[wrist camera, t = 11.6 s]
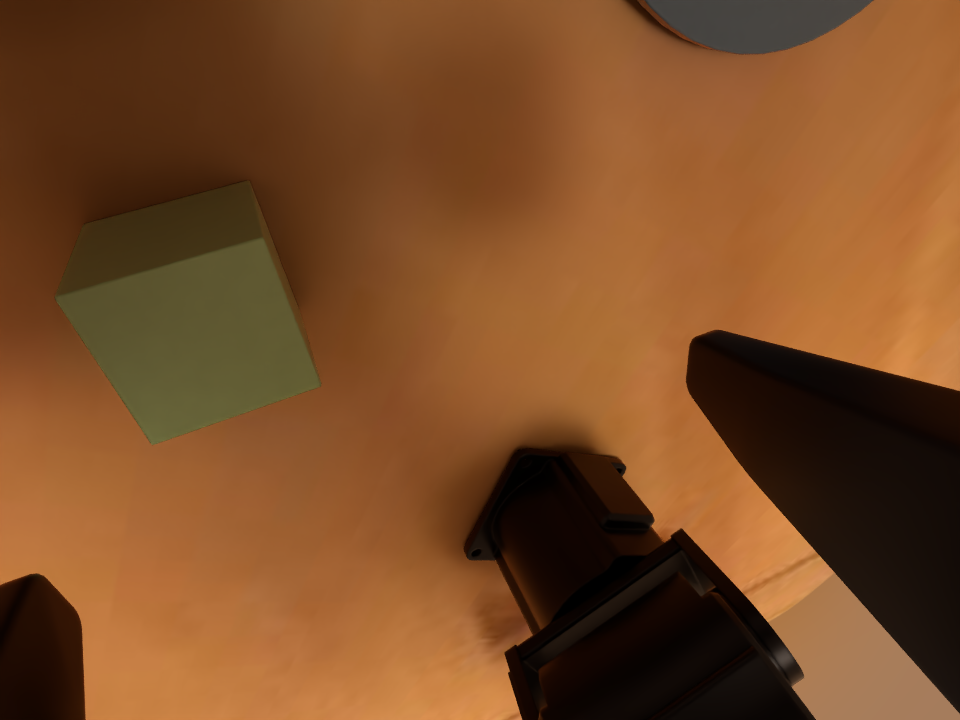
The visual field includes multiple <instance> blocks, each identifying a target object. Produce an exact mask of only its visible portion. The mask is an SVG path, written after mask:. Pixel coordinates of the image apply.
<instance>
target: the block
mask: <svg viewBox="0 0 960 720" xmlns="http://www.w3.org/2000/svg"><path fill="white" fill-rule="evenodd" d="M55 300H56V302H57V303H58V305H59V306H60V308H61V309H62V311H63V312H64V314H65V315H66V317H67V318H68V320H69V321H70V323H71V324H72V326H73V327H74V329H75V330H76V332H77V333H78V335H79V336H80V338H81V339H82V341H83V342H84V344H85V345H86V347H87V348H88V350H89V351H90V353H91V354H92V356H93V357H94V359H95V360H96V362H97V363H98V365H99V366H100V368H101V369H102V371H103V372H104V374H105V375H106V377H107V378H108V380H109V381H110V383H111V384H112V386H113V387H114V389H115V390H116V392H117V393H118V395H119V396H120V398H121V399H122V401H123V402H124V404H125V405H126V407H127V408H128V410H129V411H130V413H131V414H132V416H133V417H134V419H135V420H136V422H137V423H138V425H139V426H140V428H141V429H142V431H143V432H144V434H145V435H146V437H147V438H148V440H149V441H150V443H151V444H152V445H154V444H157V443H160V442H163V441H166V440H169V439H172V438H174V437H177V436H180V435H183V434H186V433H189V432H192V431H195V430H197V429H200V428H203V427H206V426H209V425H212V424H215V423H218V422H220V421H223V420H226V419H229V418H232V417H235V416H238V415H241V414H243V413H246V412H249V411H252V410H255V409H258V408H261V407H264V406H266V405H269V404H272V403H275V402H278V401H281V400H284V399H287V398H290V397H292V396H295V395H298V394H301V393H304V392H307V391H310V390H313V389H315V388H318V387H321V381H320V377H319V374H318V370H317V367H316V364H315V360H314V357H313V354H312V350H311V347H310V344H309V340H308V337H307V334H306V330H305V327H304V323H303V320H302V317H301V313H300V310H299V308H298V305H297V302H296V300H295V297H294V295H293V292H292V289H291V287H290V284H289V281H288V279H287V276H286V274H285V271H284V268H283V266H282V263H281V261H280V258H279V255H278V253H277V250H276V248H275V245H274V242H273V240H272V237H271V235H270V232H269V229H268V227H267V224H266V222H265V219H264V216H263V214H262V211H261V209H260V206H259V203H258V201H257V198H256V196H255V193H254V190H253V188H252V185H251V183H250V181H244V182H240V183H236V184H232V185H229V186H225V187H221V188H217V189H214V190H210V191H206V192H202V193H199V194H195V195H191V196H187V197H183V198H180V199H176V200H172V201H168V202H165V203H161V204H157V205H153V206H150V207H146V208H142V209H138V210H135V211H131V212H127V213H123V214H120V215H116V216H112V217H108V218H105V219H101V220H97V221H93V222H90V223H86V224H84V225H83V226H82V229H81V231H80V234H79V236H78V239H77V241H76V244H75V246H74V249H73V251H72V254H71V256H70V259H69V261H68V264H67V266H66V269H65V272H64V274H63V277H62V279H61V282H60V284H59V287H58V289H57V292H56V294H55Z"/></svg>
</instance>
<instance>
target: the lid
mask: <svg viewBox="0 0 960 720" xmlns="http://www.w3.org/2000/svg"><path fill="white" fill-rule="evenodd" d="M637 1H638V2H639V3H640V5H641V6H642V7H643V8H644V9H645V10H647V11H648V12H649V13H650V14H651V15H652V16H653V17H654V18H655V19H656V20H657V21H658V22H659V23H660V24H661V25H663V26H664V27H666V28H667V29H669V30H670V31H672V32H674V33H675V34H677V35H678V36H680V37H681V38H683V39H685V40H687V41H690V42H692V43H695V44H697V45H700V46H702V47H705V48H708V49H713V50H718V51H723V52H729V53H734V54H766V53H771V52H777V51H782V50H787V49H790V48H793V47H795V46H798V45H801V44H804V43H807V42H809V41H812V40H814V39H816V38H818V37H820V36H822V35H824V34H826V33H827V32H829V31H831V30H833V29H835V28H837V27H838V26H840V25H841V24H843V23H844V22H846V21H847V20H849V19H850V18H852V17H853V16H854V15H856V14H857V13H859V12H860V11H861V10H863V9H864V8H865V7H866V6H867V5H869V4H870V3H871V2H872V1H873V0H637Z"/></svg>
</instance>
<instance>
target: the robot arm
mask: <svg viewBox="0 0 960 720" xmlns="http://www.w3.org/2000/svg"><path fill="white" fill-rule="evenodd" d="M686 383H687V388H688V391H689V393H690V395H691V396H692V398H693V399H694V401H695V402H696V403H697V405H698V406H699V408H700V409H701V410H702V412H703V413H704V415H705V416H706V417H707V419H708V420H709V422H710V423H711V424H712V426H713V427H714V429H715V430H716V431H717V433H718V434H719V436H720V437H721V438H722V440H723V441H724V443H725V444H726V445H727V447H728V448H729V450H730V451H731V452H732V454H733V455H734V457H735V458H736V459H737V461H738V462H739V463H740V465H741V466H742V467H743V468H744V470H745V471H746V472H747V474H748V475H749V476H750V477H751V478H752V479H753V481H754V482H755V483H756V484H757V485H758V486H759V488H760V489H761V490H762V491H763V492H764V493H765V494H766V495H767V497H768V498H769V499H770V500H771V501H772V502H773V503H774V505H775V506H776V507H777V508H778V509H779V510H780V511H781V512H782V514H783V515H784V516H785V517H786V518H787V519H788V520H789V521H790V523H791V524H792V525H793V526H794V527H795V528H796V529H797V530H798V532H799V533H800V534H801V535H802V536H803V537H804V538H805V540H806V541H807V542H808V543H809V544H810V545H811V546H812V547H813V549H814V550H815V551H816V552H817V553H818V554H819V555H820V556H821V558H822V559H823V560H824V561H825V562H826V563H827V564H828V565H829V567H830V568H831V569H832V570H833V571H834V572H835V573H836V575H837V576H838V577H839V578H840V579H841V580H842V581H843V582H844V584H845V585H846V586H847V587H848V588H849V589H850V590H851V591H852V593H853V594H854V595H855V596H856V597H857V598H858V599H859V600H860V601H861V603H862V604H863V605H864V606H865V607H866V608H867V609H868V611H869V612H870V613H871V614H872V615H873V616H874V617H875V619H876V620H877V621H878V622H879V623H880V624H881V625H882V626H883V628H884V629H885V630H886V631H887V632H888V633H889V634H890V635H891V637H892V638H893V639H894V640H895V641H896V642H897V643H898V644H899V646H900V647H901V648H902V649H903V650H904V651H905V652H906V653H907V655H908V656H909V657H910V658H911V659H912V660H913V661H914V663H915V664H916V665H917V666H918V667H919V668H920V669H921V670H922V672H923V673H924V674H925V675H926V676H927V677H928V678H929V679H930V681H931V682H932V683H933V684H934V685H935V686H936V687H937V688H938V690H939V691H940V692H941V693H942V694H943V695H944V696H945V698H946V699H947V700H948V701H949V702H950V703H951V704H952V705H953V707H954V708H955V709H956V710H957V711H958V712H959V713H960V391H957V390H954V389H950V388H946V387H942V386H938V385H934V384H930V383H926V382H922V381H918V380H914V379H910V378H906V377H903V376H899V375H895V374H891V373H887V372H883V371H879V370H875V369H871V368H867V367H863V366H859V365H855V364H852V363H848V362H844V361H840V360H836V359H832V358H828V357H824V356H820V355H816V354H812V353H808V352H804V351H801V350H797V349H793V348H789V347H785V346H781V345H777V344H773V343H769V342H765V341H761V340H757V339H754V338H750V337H746V336H742V335H738V334H734V333H730V332H726V331H722V330H713V331H710V332H707V333H705V334H702V335H699V336H696V337H695V338H693V339H692V341H691V343H690V346H689V355H688V365H687V374H686ZM524 459H525V460H524ZM625 471H626V466H625V465H624V464H623V462H622V461H621V460H620V459H617V458H608V457H605V456H599V455H590V454H581V453H573V452H556V451H547V450H539V449H530V448H523V449H520V450H518V451H517V452H516V453H515V454H514V455H513V457H512V459H511V460H510V462H509V464H508V466H507V468H506V470H505V472H504V473H503V475H502V477H501V479H500V481H499V483H498V485H497V487H496V488H495V490H494V492H493V494H492V496H491V498H490V500H489V501H488V503H487V505H486V507H485V509H484V511H483V513H482V515H481V516H480V518H479V520H478V522H477V524H476V526H475V528H474V529H473V531H472V533H471V535H470V537H469V539H468V541H467V543H466V544H465V546H464V552H465V554H466V557H467V558H468V559H469V560H496V562H497V564H498V566H499V568H500V570H501V572H502V574H503V576H504V578H505V580H506V582H507V584H508V586H509V588H510V590H511V592H512V594H513V596H514V598H515V600H516V602H517V604H518V606H519V608H520V610H521V612H522V614H523V616H524V618H525V620H526V622H527V624H528V626H529V628H530V630H531V632H532V634H533V636H531V637H530V638H528V639H527V640H525V641H524V642H523V643H521V644H520V645H518V646H517V645H514V646H513V647H511V648H510V649H509V650H507V651H506V652H505V657H506V660H507V663H508V666H509V670H510V672H509V673H508V675H509V678H510V681H511V685H512V688H513V691H514V694H515V697H516V701H517V704H518V707H519V710H520V714H521V717H522V720H816V719H815V718H814V716H813V715H812V714H811V712H810V711H809V710H808V708H807V707H806V706H805V704H804V703H803V702H802V701H801V699H800V698H799V697H798V695H797V694H796V693H795V691H794V690H793V689H792V686H793V685H794V684H796V683H797V682H799V681H800V680H802V679H803V678H804V674H803V672H802V670H801V668H800V666H799V665H798V663H797V662H796V660H795V659H794V657H793V656H792V654H791V653H790V651H789V650H788V648H787V647H786V646H785V644H784V643H783V642H782V640H781V639H780V638H779V636H778V635H777V634H776V633H775V631H774V630H773V629H772V627H771V626H770V625H769V623H768V622H767V621H766V620H765V618H764V617H763V616H762V615H761V614H760V612H759V611H758V610H757V609H756V608H755V607H754V605H753V604H752V603H751V602H750V601H749V600H748V599H747V597H746V596H745V595H744V594H743V593H742V592H741V591H740V590H739V589H738V588H737V587H736V586H735V584H734V583H733V582H732V581H731V580H730V579H729V578H728V577H727V576H726V575H725V574H724V573H723V572H722V571H721V570H720V569H719V568H718V566H717V565H716V564H715V563H714V562H713V561H712V560H711V559H710V558H709V557H708V556H707V555H706V554H705V553H704V552H703V551H702V549H701V548H700V547H699V546H698V545H697V544H696V543H695V542H694V541H693V540H692V539H691V538H690V537H689V536H688V535H687V534H686V533H685V531H684V530H683V529H682V528H681V529H679V530H678V531H676V532H675V533H674V534H672V535H671V539H669V540H668V541H666V542H665V543H664V542H663V541H662V539H661V538H660V537H659V536H658V534H657V533H656V532H655V531H654V529H653V528H652V527H651V526H652V524H653V523H654V517H653V514H652V513H651V512H650V511H649V509H648V508H647V507H646V506H645V504H644V503H643V502H642V501H641V500H640V498H639V497H638V496H637V495H636V493H635V492H634V491H633V490H632V488H631V487H630V486H629V485H628V484H627V482H626V481H625V480H624V479H623V477H622V476H623V474H624V473H625ZM0 720H86V719H85V694H84V669H83V644H82V626H81V621H80V618H79V615H78V613H77V611H76V610H75V609H74V607H73V606H72V605H71V604H70V603H69V602H68V601H67V600H66V599H65V598H64V597H63V595H62V594H61V593H60V592H59V591H58V590H57V589H56V588H55V587H54V586H53V585H52V584H51V583H50V582H49V580H48V579H46V578H45V577H44V576H42V575H40V574H29V575H26V576H24V577H21V578H18V579H15V580H12V581H10V582H7V583H4V584H2V585H0Z"/></svg>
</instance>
